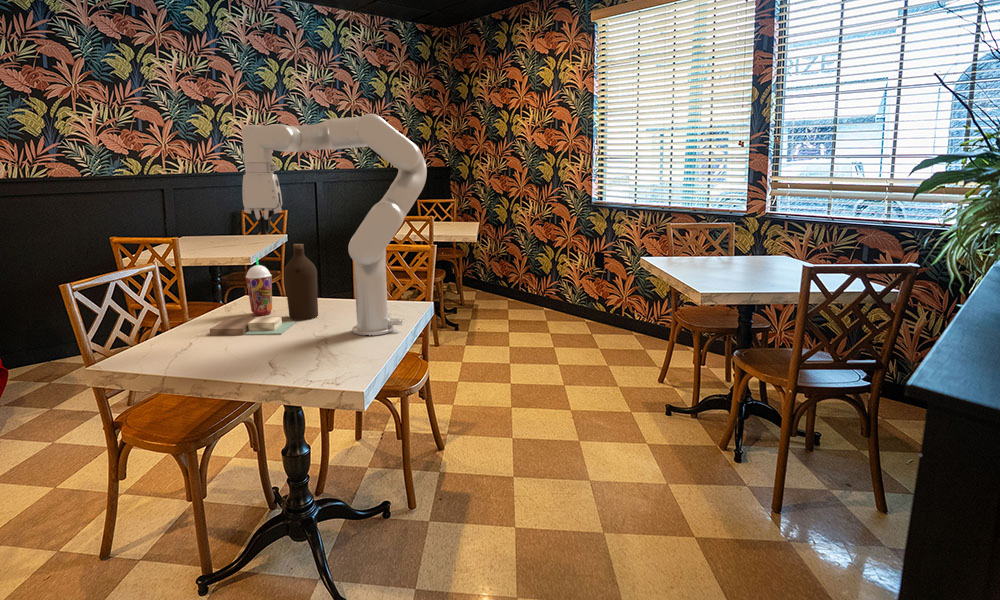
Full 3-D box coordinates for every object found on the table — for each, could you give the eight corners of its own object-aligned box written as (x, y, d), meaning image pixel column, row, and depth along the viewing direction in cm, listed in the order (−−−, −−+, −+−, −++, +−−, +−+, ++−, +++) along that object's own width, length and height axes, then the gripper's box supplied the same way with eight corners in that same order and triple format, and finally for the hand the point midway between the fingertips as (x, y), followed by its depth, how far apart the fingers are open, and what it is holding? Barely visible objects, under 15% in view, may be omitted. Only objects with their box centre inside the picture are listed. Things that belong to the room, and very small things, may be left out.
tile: (282, 324, 192) (281, 317, 192) (274, 330, 186) (274, 322, 185) (257, 324, 192) (256, 317, 192) (248, 330, 185) (248, 322, 185)
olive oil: (325, 317, 203) (320, 244, 198) (294, 322, 196) (288, 247, 191) (312, 311, 211) (307, 241, 206) (282, 316, 205) (276, 244, 199)
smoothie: (266, 317, 204) (261, 259, 199) (244, 316, 205) (238, 258, 201) (279, 311, 212) (274, 255, 207) (257, 310, 213) (252, 255, 209)
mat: (295, 322, 196) (295, 321, 196) (281, 334, 182) (281, 333, 182) (261, 323, 196) (261, 322, 196) (245, 334, 182) (244, 333, 182)
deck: (260, 323, 196) (259, 317, 195) (243, 334, 182) (242, 328, 182) (229, 323, 196) (228, 317, 195) (210, 335, 182) (209, 328, 181)
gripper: (289, 169, 176) (294, 231, 180) (238, 169, 176) (244, 231, 180) (281, 169, 169) (286, 233, 173) (227, 169, 169) (234, 234, 173)
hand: (265, 232), depth 177 cm, fingers closed
